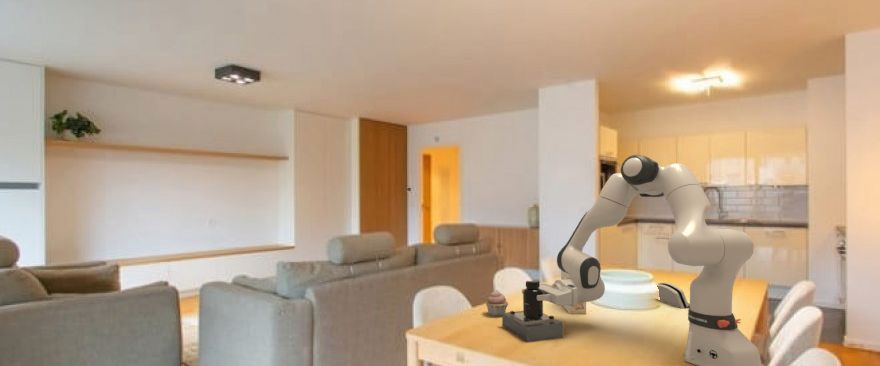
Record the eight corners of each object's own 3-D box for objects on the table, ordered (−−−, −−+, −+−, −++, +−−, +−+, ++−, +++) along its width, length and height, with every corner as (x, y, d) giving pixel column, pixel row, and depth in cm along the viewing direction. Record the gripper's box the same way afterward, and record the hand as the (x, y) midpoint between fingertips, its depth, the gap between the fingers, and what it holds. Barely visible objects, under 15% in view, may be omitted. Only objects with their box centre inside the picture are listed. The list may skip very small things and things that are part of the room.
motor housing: (563, 337, 162) (563, 318, 162) (526, 342, 157) (526, 322, 157) (531, 320, 181) (531, 304, 181) (498, 324, 177) (498, 307, 177)
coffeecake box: (586, 314, 191) (587, 265, 191) (569, 314, 191) (569, 265, 191) (576, 304, 206) (577, 259, 206) (560, 304, 206) (560, 259, 206)
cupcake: (509, 312, 193) (509, 288, 193) (506, 318, 184) (506, 293, 184) (487, 310, 196) (487, 286, 196) (483, 317, 187) (483, 291, 187)
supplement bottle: (520, 316, 165) (519, 281, 166) (526, 314, 171) (525, 280, 172) (540, 318, 162) (539, 282, 163) (545, 315, 168) (544, 280, 169)
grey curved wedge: (692, 308, 200) (685, 286, 199) (683, 312, 199) (676, 290, 198) (665, 298, 216) (659, 278, 216) (657, 302, 215) (650, 282, 215)
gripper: (547, 277, 182) (515, 280, 177) (579, 288, 163) (544, 291, 158) (547, 294, 182) (515, 297, 177) (579, 307, 163) (544, 310, 158)
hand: (529, 294), depth 167 cm, fingers open, 8 cm apart
